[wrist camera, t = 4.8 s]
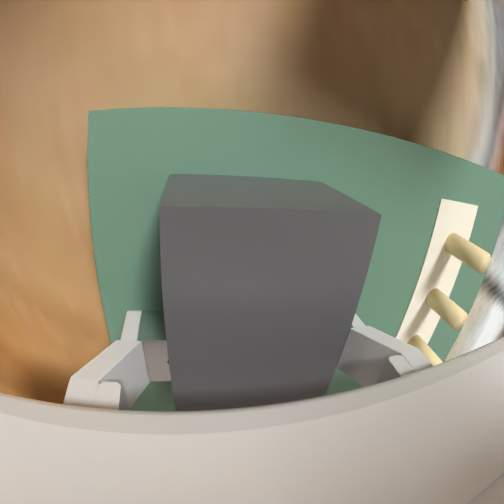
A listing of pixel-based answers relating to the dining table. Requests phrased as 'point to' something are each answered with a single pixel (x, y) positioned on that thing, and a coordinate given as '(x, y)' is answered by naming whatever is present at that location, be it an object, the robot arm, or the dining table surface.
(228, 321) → the grey block
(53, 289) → the dining table surface
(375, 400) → the robot arm
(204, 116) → the board
